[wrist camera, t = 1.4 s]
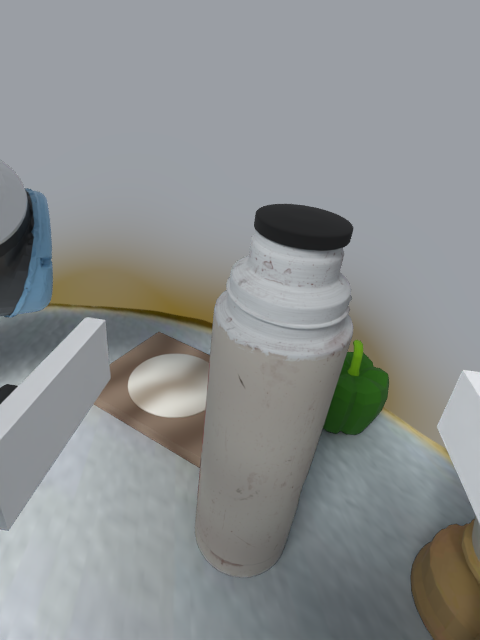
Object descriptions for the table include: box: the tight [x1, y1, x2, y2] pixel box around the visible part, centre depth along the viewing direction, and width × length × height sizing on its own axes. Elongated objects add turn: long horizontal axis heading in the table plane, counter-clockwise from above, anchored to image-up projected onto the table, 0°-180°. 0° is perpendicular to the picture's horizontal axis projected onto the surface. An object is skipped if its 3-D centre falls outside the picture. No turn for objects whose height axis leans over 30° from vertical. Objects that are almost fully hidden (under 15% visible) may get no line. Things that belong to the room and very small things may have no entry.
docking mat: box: [94, 332, 210, 468], centre depth 47 cm, size 17×14×2 cm
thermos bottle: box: [195, 204, 353, 577], centre depth 27 cm, size 8×8×28 cm
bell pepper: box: [323, 340, 389, 435], centre depth 44 cm, size 8×8×10 cm
